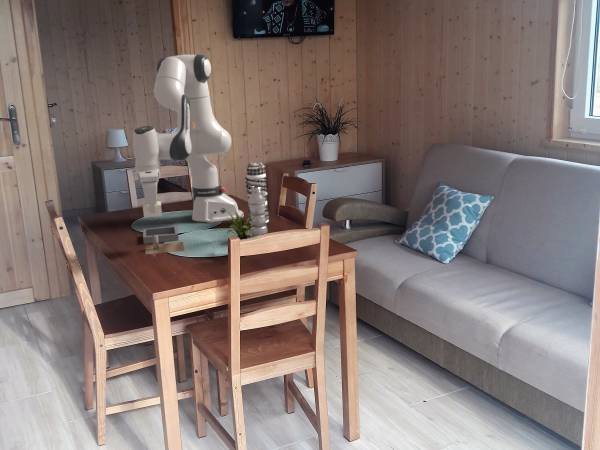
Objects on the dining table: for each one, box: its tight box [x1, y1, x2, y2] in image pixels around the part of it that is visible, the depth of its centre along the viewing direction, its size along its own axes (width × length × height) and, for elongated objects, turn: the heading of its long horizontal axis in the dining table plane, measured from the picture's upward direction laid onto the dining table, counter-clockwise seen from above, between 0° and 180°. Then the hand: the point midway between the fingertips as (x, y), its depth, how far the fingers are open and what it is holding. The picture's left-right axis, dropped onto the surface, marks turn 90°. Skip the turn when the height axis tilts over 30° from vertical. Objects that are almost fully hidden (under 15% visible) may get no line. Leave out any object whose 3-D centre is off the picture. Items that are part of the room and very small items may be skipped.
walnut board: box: [144, 235, 185, 256], centre depth 247 cm, size 14×12×6 cm
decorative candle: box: [244, 161, 270, 224], centre depth 280 cm, size 9×9×25 cm
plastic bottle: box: [247, 186, 268, 238], centre depth 256 cm, size 6×7×20 cm
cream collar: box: [142, 200, 163, 218], centre depth 243 cm, size 6×6×4 cm
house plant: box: [222, 211, 258, 240], centre depth 237 cm, size 14×14×16 cm
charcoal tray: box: [142, 225, 180, 245], centre depth 261 cm, size 13×13×4 cm
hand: (152, 210), depth 243 cm, fingers closed on cream collar, 6 cm apart
